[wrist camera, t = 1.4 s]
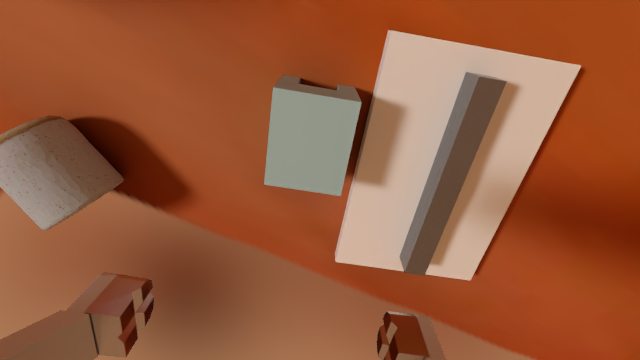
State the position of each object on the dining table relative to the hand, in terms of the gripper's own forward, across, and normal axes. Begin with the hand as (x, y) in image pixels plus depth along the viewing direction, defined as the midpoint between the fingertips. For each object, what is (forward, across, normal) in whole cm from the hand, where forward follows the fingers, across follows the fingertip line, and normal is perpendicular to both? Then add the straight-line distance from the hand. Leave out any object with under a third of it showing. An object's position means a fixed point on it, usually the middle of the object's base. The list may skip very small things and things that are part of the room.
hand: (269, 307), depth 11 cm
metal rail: (+20, -14, +2) cm, 24 cm away
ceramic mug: (+22, +23, +8) cm, 32 cm away
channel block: (+21, -1, -1) cm, 21 cm away
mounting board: (+21, -14, +2) cm, 25 cm away
